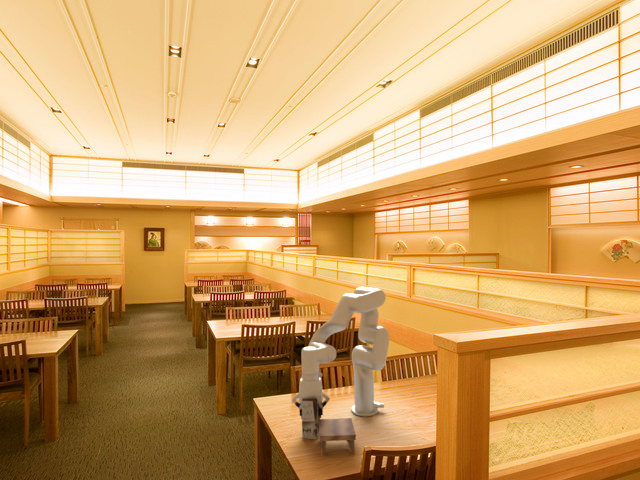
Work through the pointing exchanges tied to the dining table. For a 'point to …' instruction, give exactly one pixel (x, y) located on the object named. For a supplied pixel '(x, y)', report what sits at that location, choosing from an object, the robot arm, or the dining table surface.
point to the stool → (336, 432)
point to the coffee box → (310, 418)
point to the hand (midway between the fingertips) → (311, 416)
